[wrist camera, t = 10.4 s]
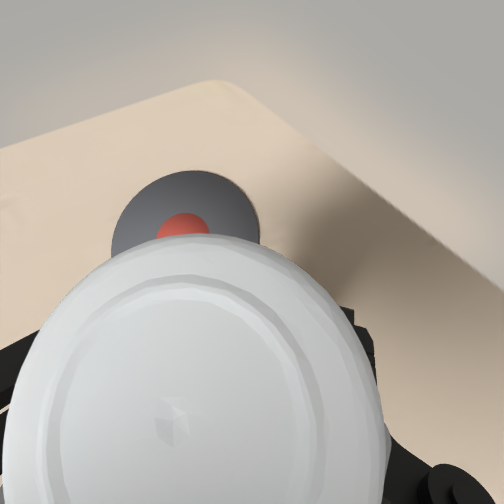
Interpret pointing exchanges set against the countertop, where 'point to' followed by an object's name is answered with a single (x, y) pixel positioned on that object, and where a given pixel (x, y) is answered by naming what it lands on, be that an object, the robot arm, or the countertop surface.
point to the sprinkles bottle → (195, 387)
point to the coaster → (185, 211)
